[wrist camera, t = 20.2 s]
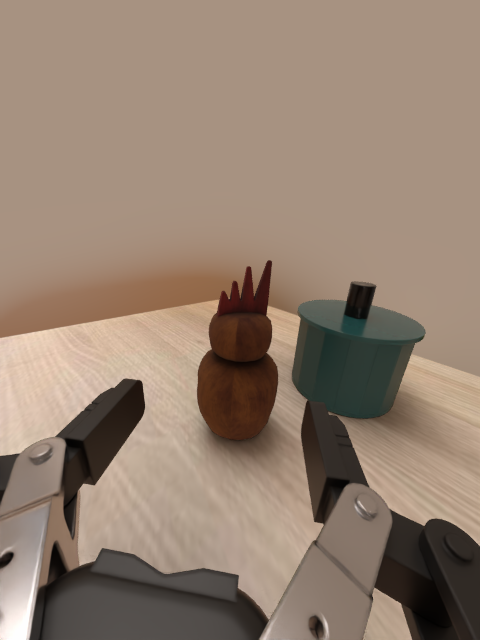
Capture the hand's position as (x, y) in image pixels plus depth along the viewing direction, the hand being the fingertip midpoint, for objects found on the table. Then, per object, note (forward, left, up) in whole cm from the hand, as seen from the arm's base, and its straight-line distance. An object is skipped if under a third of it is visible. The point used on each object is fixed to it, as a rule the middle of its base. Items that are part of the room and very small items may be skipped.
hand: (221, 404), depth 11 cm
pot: (-17, -11, -9) cm, 22 cm away
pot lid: (-17, -11, -1) cm, 20 cm away
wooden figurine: (-3, -7, -9) cm, 12 cm away
